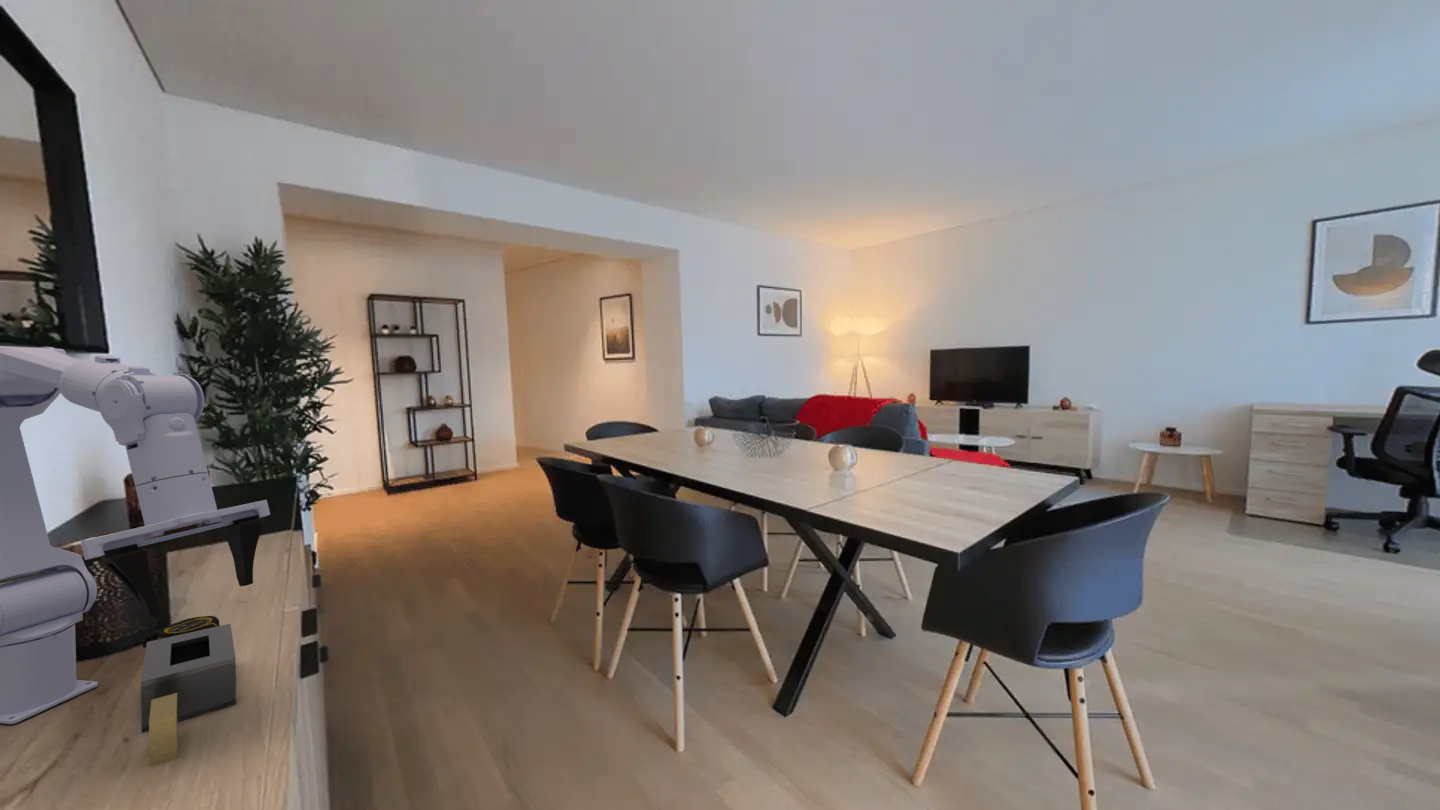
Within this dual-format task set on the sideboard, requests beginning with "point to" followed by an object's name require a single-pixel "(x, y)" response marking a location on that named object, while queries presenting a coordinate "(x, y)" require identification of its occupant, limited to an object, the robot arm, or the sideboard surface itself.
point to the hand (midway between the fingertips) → (202, 599)
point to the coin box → (190, 672)
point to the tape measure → (182, 628)
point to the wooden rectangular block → (163, 729)
